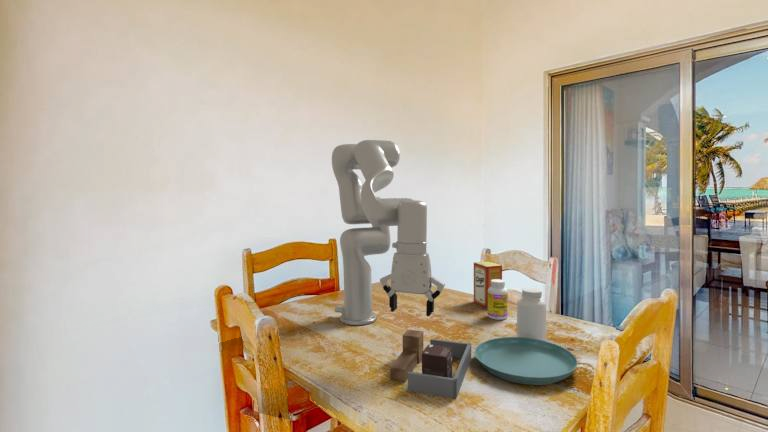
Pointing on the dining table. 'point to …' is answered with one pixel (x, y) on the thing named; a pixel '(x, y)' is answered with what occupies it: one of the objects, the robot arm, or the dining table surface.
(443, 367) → the box
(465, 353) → the open-sided frame
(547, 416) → the dining table surface
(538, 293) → the pill bottle
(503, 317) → the supplement bottle
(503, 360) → the teal plate
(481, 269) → the baking soda box
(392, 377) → the brown l-shaped block
